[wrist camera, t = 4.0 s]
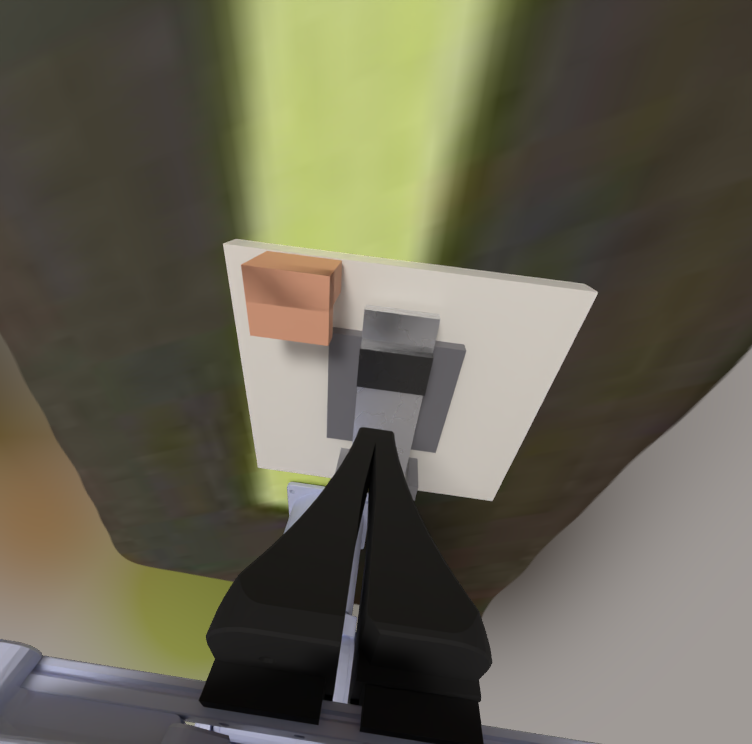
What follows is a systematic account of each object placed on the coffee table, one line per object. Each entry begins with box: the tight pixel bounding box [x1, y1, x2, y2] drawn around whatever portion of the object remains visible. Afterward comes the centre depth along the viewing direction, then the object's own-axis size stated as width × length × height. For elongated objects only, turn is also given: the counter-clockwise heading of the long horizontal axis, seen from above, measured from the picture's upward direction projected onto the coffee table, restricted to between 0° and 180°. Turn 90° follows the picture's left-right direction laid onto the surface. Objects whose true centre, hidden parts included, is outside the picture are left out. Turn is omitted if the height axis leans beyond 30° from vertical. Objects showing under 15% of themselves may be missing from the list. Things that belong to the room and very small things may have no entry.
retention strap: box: [352, 304, 441, 476], centre depth 20 cm, size 14×4×2 cm, turn 174°
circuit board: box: [223, 239, 598, 501], centre depth 21 cm, size 18×20×4 cm
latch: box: [241, 251, 342, 346], centre depth 16 cm, size 4×4×3 cm
